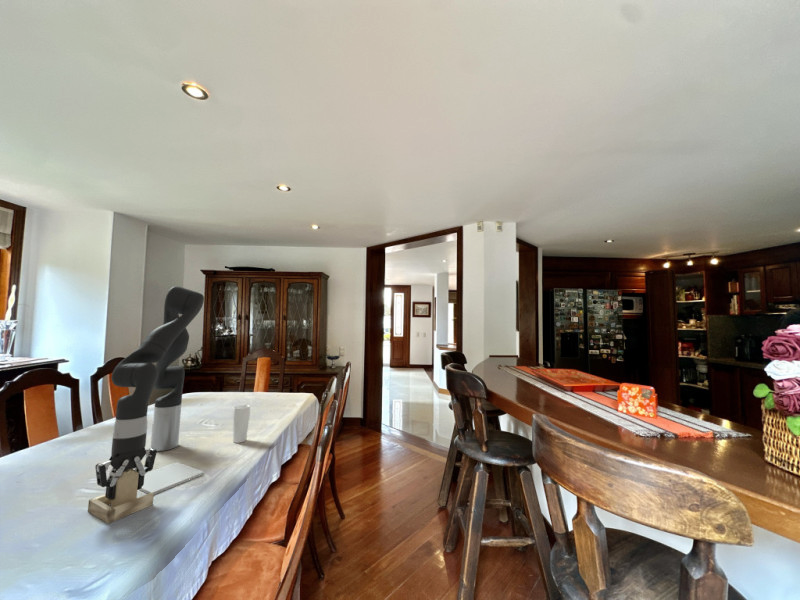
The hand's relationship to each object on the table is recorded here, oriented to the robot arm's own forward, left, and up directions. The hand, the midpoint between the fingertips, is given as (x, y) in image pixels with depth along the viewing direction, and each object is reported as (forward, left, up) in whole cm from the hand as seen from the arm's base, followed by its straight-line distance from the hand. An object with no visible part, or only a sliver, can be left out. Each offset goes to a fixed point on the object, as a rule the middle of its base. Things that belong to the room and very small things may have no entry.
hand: (124, 493), depth 91 cm
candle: (0, 0, -4) cm, 4 cm away
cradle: (0, 0, -4) cm, 4 cm away
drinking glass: (-17, +50, -4) cm, 53 cm away
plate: (-8, +15, -4) cm, 17 cm away
